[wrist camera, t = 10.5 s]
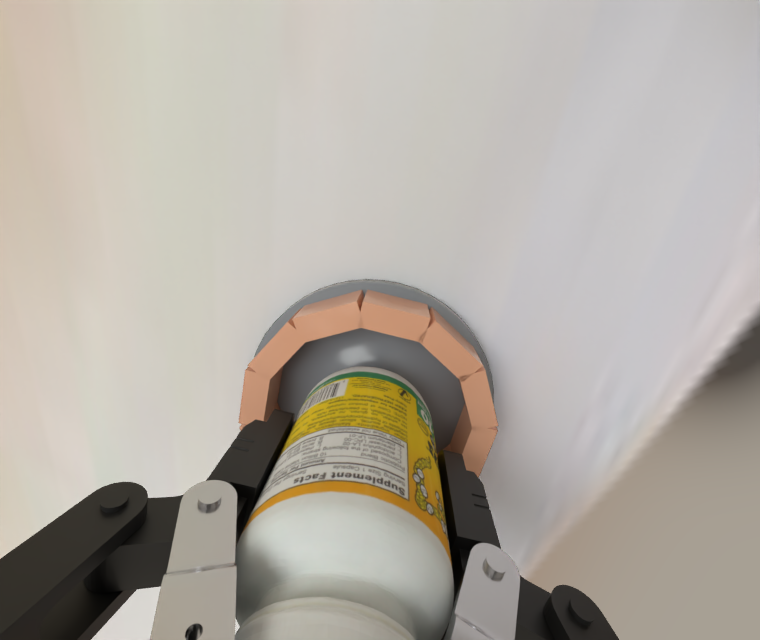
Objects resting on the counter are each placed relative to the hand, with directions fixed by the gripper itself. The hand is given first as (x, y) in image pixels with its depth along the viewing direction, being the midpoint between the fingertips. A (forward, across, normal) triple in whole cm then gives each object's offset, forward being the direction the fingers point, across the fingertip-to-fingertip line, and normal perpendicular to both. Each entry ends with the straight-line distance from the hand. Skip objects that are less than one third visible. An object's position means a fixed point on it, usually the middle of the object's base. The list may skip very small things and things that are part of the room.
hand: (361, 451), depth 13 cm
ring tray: (+4, 0, 0) cm, 4 cm away
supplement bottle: (+2, 0, 0) cm, 2 cm away
